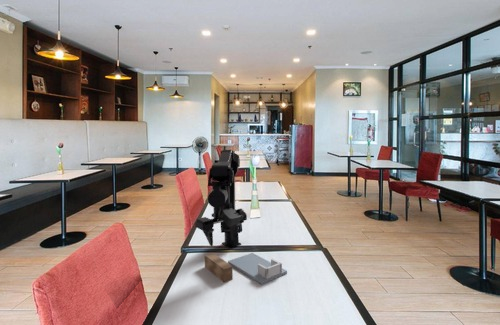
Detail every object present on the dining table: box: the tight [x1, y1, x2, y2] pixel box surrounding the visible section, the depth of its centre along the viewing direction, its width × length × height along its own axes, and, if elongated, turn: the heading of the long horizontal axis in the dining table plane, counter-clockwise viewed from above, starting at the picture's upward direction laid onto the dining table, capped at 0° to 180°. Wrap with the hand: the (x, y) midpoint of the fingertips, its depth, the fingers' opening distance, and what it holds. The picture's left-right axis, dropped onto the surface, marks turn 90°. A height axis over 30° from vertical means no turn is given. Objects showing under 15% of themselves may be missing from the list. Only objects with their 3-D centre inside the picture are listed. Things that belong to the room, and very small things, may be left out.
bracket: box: [227, 252, 288, 285], centre depth 116 cm, size 20×12×4 cm, turn 38°
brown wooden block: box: [204, 252, 234, 283], centre depth 113 cm, size 14×4×5 cm, turn 35°
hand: (222, 242), depth 112 cm, fingers open, 9 cm apart
